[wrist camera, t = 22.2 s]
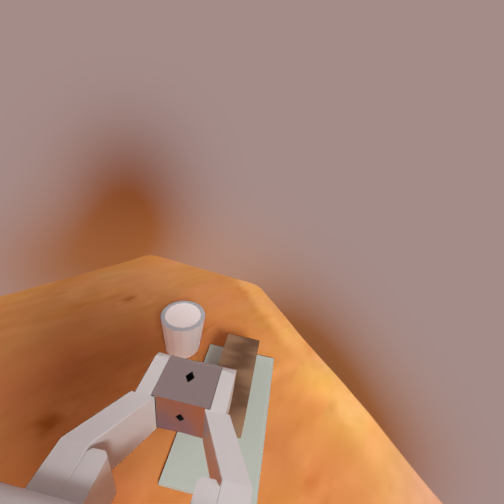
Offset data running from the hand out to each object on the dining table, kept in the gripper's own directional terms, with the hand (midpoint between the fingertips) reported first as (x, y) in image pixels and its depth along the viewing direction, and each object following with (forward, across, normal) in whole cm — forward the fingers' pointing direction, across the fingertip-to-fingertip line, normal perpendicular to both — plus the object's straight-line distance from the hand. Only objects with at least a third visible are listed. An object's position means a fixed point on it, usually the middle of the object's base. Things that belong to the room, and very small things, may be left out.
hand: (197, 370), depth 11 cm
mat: (+16, 0, +30) cm, 34 cm away
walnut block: (+13, 0, +27) cm, 30 cm away
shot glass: (+25, +10, +30) cm, 41 cm away
